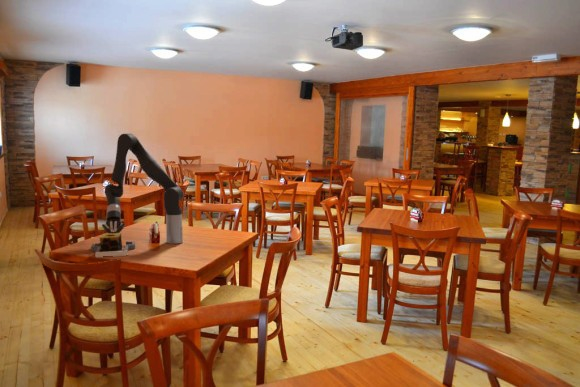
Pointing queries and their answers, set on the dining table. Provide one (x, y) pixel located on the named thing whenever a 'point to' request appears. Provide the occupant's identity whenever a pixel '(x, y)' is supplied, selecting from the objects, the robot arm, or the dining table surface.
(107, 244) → the candle
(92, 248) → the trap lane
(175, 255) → the dining table surface
